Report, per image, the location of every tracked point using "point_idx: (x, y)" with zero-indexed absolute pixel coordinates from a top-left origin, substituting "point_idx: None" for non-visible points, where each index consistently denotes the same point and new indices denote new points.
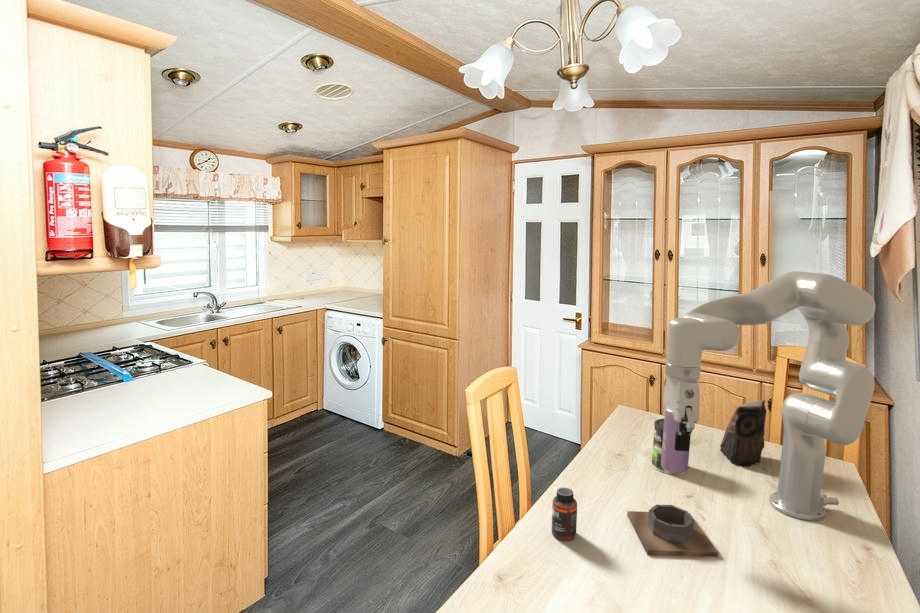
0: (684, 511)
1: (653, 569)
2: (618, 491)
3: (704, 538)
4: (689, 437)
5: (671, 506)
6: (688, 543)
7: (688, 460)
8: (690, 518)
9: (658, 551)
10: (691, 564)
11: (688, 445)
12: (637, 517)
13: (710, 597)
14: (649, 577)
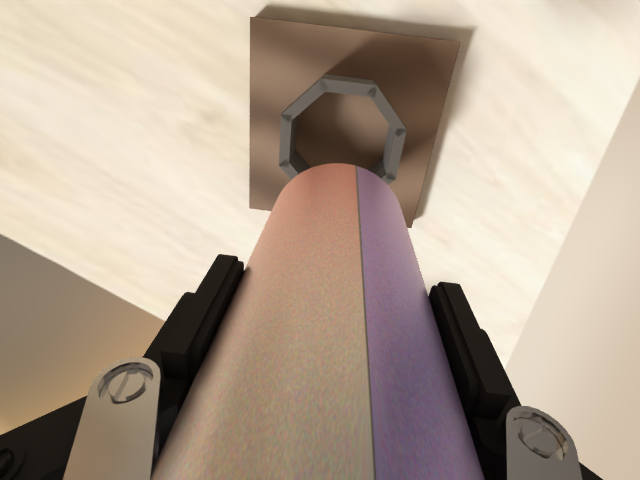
0: (321, 89)
1: (457, 230)
2: (131, 178)
3: (391, 47)
4: (493, 373)
5: (290, 121)
6: (405, 113)
7: (381, 196)
8: (363, 91)
9: (417, 203)
10: (464, 137)
11: (466, 315)
12: (278, 194)
13: (577, 155)
14: (478, 248)
